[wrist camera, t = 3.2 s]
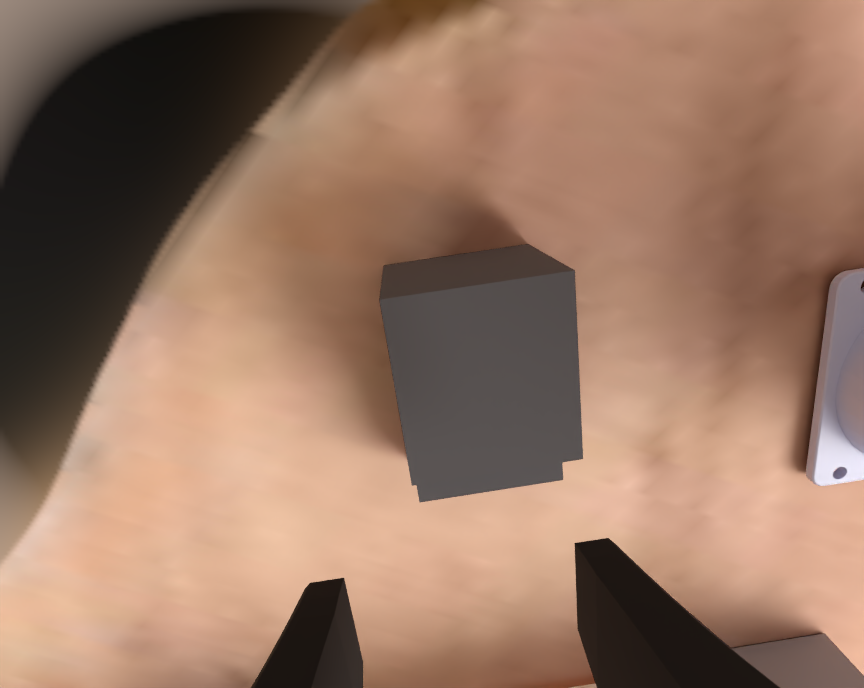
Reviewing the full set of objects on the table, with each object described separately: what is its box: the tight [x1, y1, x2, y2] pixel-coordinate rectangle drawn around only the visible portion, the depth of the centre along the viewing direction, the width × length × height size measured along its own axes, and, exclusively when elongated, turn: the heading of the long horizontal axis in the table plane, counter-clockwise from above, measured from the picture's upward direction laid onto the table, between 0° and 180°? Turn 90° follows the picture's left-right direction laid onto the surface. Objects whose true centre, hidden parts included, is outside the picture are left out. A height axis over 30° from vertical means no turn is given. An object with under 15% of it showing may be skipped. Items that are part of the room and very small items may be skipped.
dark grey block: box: [379, 244, 583, 502], centre depth 15 cm, size 4×7×4 cm, turn 8°
